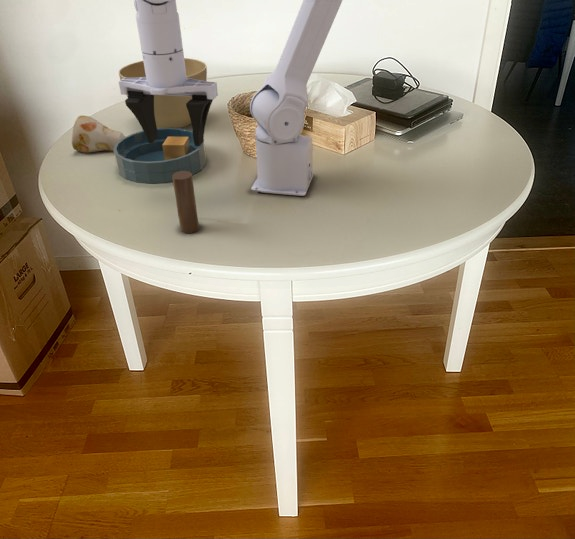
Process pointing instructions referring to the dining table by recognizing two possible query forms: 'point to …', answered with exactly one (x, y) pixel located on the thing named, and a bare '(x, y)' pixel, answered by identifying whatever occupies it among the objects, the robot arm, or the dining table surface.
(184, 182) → the stick
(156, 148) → the bowl
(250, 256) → the dining table surface
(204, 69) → the flower pot
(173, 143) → the block
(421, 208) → the dining table surface
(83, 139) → the cream tapered piece
